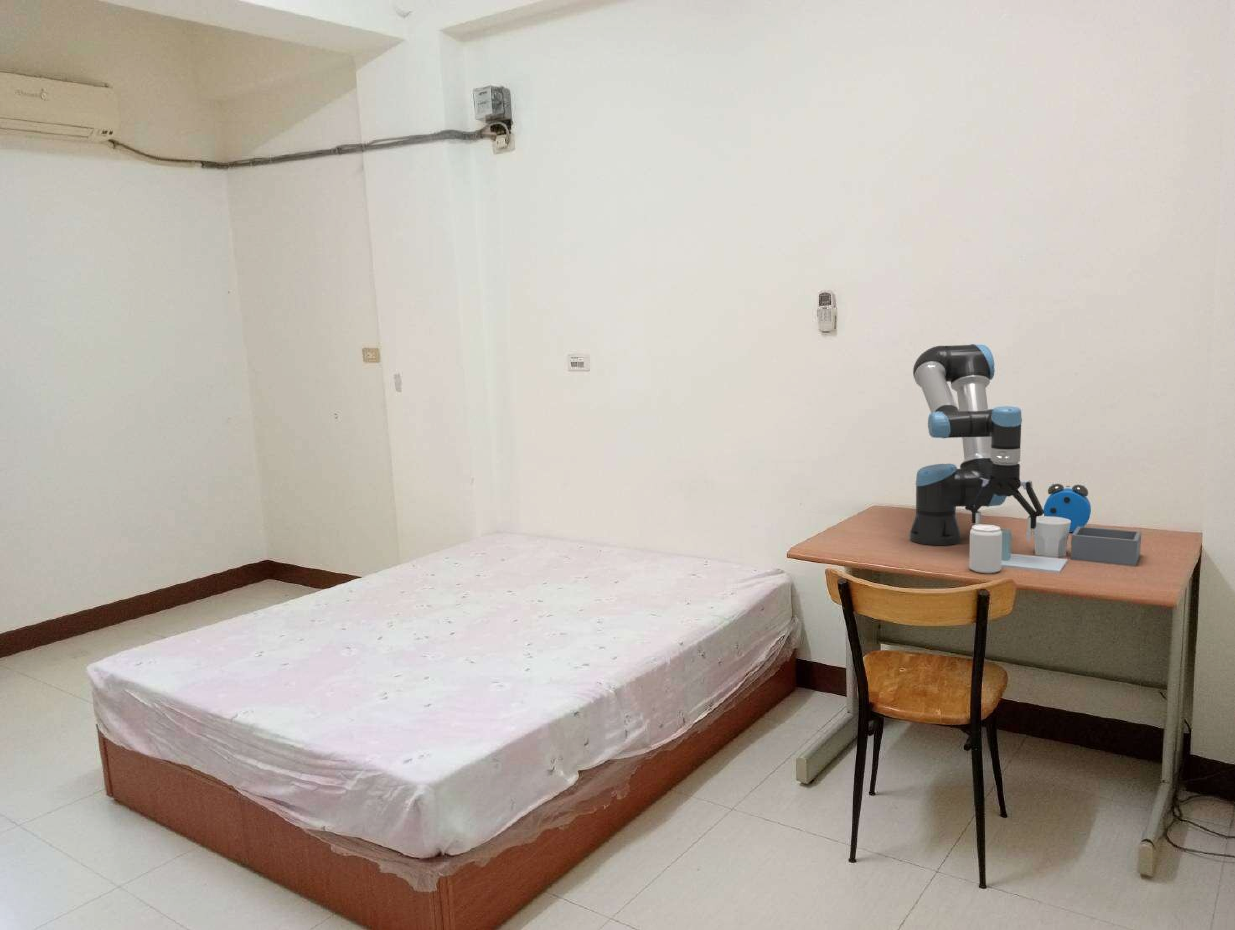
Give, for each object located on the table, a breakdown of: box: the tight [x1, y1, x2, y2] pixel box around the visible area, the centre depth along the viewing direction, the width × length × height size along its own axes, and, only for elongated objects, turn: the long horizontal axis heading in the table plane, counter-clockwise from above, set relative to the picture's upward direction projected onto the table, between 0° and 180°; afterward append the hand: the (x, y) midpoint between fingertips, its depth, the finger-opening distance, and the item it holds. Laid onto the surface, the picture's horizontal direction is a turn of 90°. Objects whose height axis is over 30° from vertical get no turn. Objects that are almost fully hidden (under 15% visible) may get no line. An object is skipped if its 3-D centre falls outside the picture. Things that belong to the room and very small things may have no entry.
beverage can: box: [968, 523, 1002, 574], centre depth 246 cm, size 8×8×12 cm
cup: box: [1032, 515, 1071, 558], centre depth 259 cm, size 10×10×10 cm
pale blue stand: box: [1000, 528, 1069, 574], centre depth 251 cm, size 18×13×9 cm
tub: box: [1070, 526, 1142, 567], centre depth 253 cm, size 16×12×7 cm
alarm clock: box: [1043, 483, 1092, 533], centre depth 284 cm, size 13×6×15 cm, turn 61°
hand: (1003, 537), depth 254 cm, fingers open, 13 cm apart
